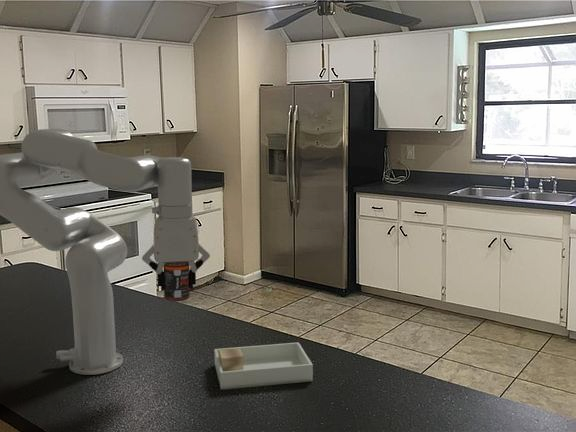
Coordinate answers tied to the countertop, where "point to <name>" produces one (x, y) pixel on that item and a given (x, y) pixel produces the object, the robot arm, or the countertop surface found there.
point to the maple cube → (231, 359)
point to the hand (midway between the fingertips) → (176, 287)
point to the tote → (267, 366)
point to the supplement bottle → (176, 281)
